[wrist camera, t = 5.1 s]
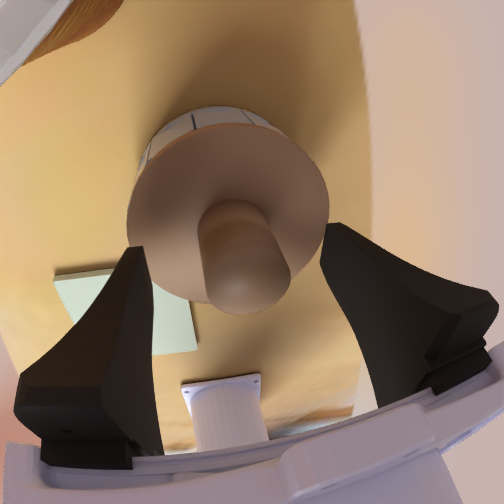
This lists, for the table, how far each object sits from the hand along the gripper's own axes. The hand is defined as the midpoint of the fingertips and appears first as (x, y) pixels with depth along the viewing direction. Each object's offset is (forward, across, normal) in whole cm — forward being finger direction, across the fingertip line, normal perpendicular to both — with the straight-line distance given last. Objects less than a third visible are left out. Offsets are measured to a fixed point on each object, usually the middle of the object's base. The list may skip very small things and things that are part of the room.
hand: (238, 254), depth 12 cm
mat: (+7, +7, +10) cm, 14 cm away
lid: (+3, 0, 0) cm, 3 cm away
